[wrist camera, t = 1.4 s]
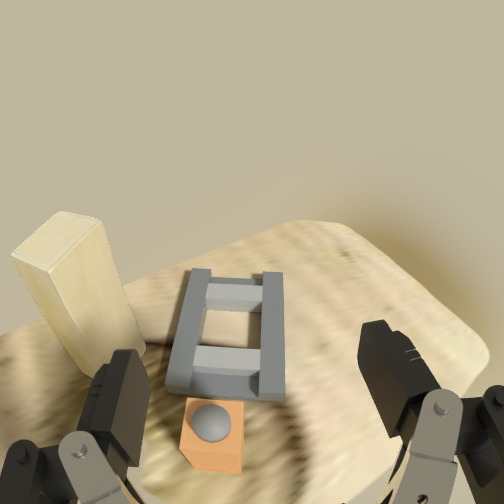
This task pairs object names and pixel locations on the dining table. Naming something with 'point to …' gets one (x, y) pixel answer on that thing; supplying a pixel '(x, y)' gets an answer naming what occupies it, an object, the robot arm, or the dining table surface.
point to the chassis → (229, 359)
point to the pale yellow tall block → (79, 289)
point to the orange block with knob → (213, 435)
